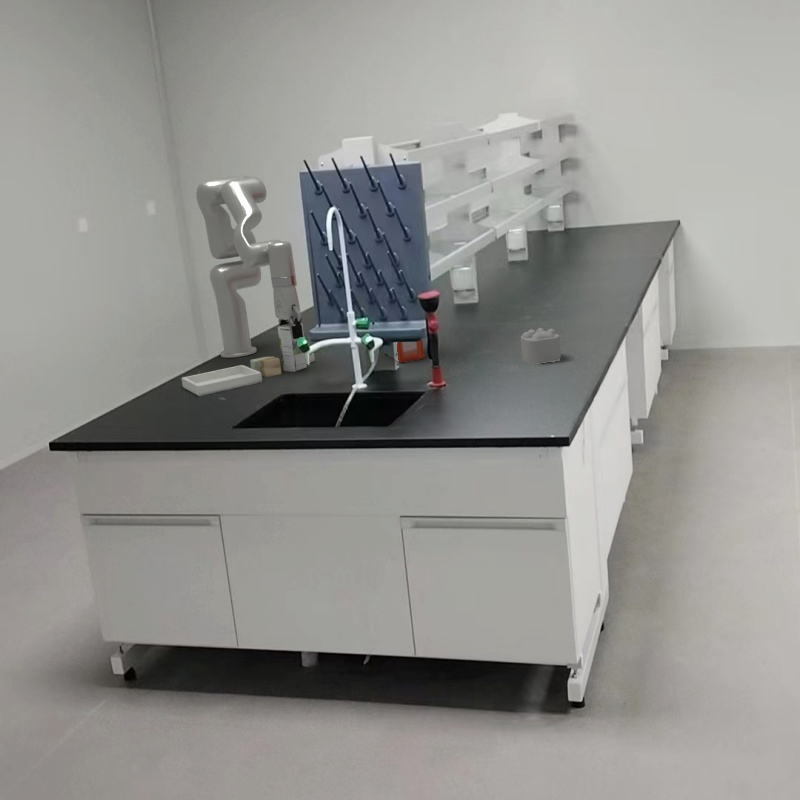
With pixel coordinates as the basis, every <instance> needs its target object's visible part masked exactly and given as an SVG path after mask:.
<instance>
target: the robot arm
mask: <svg viewBox="0 0 800 800" xmlns="http://www.w3.org/2000/svg"><path fill="white" fill-rule="evenodd" d="M195 193H196V195H195V196H196V197H195V198H196V201H197V205H198V207H199V209H200V211H201V215H202V217H203V218H204V222H205V223H204V224H205V228H206V235H207V236H206V237H207V241H208V246H209V247H208V248H209V252H210V254H211V256H212V257H213V258H214V259H216V260H227V259H233V258H238V257H239V258H240V260H235V261H230V262H229V261H228V262H223V263H218V264H216V265H214V266H213V267H212V268H211V270H210V272H209V280H210V283H211V287H212V290H213V292H214V296H215V301H216V308H217V313H218V318H219V319H218V320H219V326H220V331H221V333H220V334H221V338H222V345H223V346H222V347H223V350H222V351H220V353H219V356H220V355H221V356H220V357H221V358H223V359H226V358H227V359H229V358H230V359H231V358H241V357H246V356H247V357H248V356H250V355H253V354H255V353H256V352H257V348H256V347H255V346H252V342H251V335H250V327H249V321H248V320H249V319H248V312H247V307H246V302H245V299H244V298H243V297H242V296H241V294H239V293H238V292H237V291H238V290H242V289H248V288H252V287H255V286H257V285H259V284H260V282H261V280H262V270H261V268H262V267H265V266H268V267H269V271H270V272H269V273H270V279H271V287H272V289H273V303H274V304H273V305H274V314H275V318H277V319H278V321H277V322H278V325H279V326H281V325H285V324H288V323H292V326H291V328H292V335H293V339H298V338H299V337H303V332H302V324H303V323H302V312H301V309H300V308H301V306H300V301H299V297H298V292H297V285H298V284H297V277H296V269H295V262H294V255H293V247H292V244H291V243H290V242H289V241H287V240H282V241H281V240H279V239H271V240H270V239H269V240H266V241H256V237H255V234H254V233H253V232H252V230H253V229H255V228H256V227H258V225H259V224H260V223H261V221H262V218H263V214H262V211H261V210H260V208H259V206H258V205H257V204H261V203H264V202H265V200H266V198H267V187H266V185H265V183H264V181H263V180H261V179H260V178H259V177H257V176H250V175H238V176H237V175H236V176H235V175H234V176H229V177H220V178H212V179H208V180H204V181H202V182H200V183H199V184H198V185H197V188H196V192H195ZM222 205H226V206H227V209H228V210H229V212H228V211H227V210H226V208H225V207H224V206H222ZM229 213H231V214H229ZM230 215H231V216H232V217H233V219H234V221H235V222H236V226H235V228H233V226H232V220H231V216H230Z"/></svg>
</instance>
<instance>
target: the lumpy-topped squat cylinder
mask: <svg viewBox="0 0 800 800" xmlns="http://www.w3.org/2000/svg"><path fill="white" fill-rule="evenodd" d="M560 341H561V340H560V335H559V333H558V334H557V332H556V330H555V329H554V328H549V329H547V330H545V329H544V328H543V327H539V328H537V329H536V330H534V329H531V328H530V329H529V330H528V331H524V332H523V333H522V335H521V336H520V344H521V356H522V359H523V360H522V361H523V362H524V361H525V362H527V363H532V364H533V363H534V364H535V363H542V362H547V361H554V360H558V359H560V358H561V359H562V357H561V356H562V354H561V344H560V343H561V342H560ZM525 362H524V363H525ZM527 363H526V364H527Z"/></svg>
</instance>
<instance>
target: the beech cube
mask: <svg viewBox="0 0 800 800" xmlns="http://www.w3.org/2000/svg"><path fill="white" fill-rule="evenodd" d="M258 360H259V367H260V372H261V375H262V377H265V378H269V377H270V378H271V377H274V376H278V375H282V366H281V360H280V357H279V358H278V357H276V356H273V355H272V356H268V358H263V359H258Z"/></svg>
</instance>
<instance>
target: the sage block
mask: <svg viewBox="0 0 800 800" xmlns="http://www.w3.org/2000/svg"><path fill="white" fill-rule="evenodd" d="M268 357H269V356H262V357H259V358H253V359H250V368H251V369H254V370H256V371H258V372H260V367H259V360H258V359H263V358H268Z"/></svg>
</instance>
